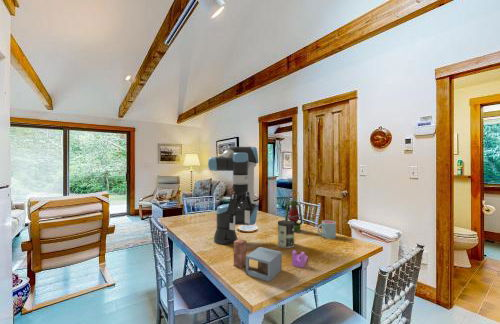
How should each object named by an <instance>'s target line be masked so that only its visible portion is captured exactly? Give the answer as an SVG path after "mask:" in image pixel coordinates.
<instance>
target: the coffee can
mask: <svg viewBox="0 0 500 324" xmlns="http://www.w3.org/2000/svg"><path fill="white" fill-rule="evenodd" d="M294 224H295V223H294V222H293V221H290V220H289V219H288V220H285V219H283V220H278V221H277V245H278V247H280V248H285V249H289V248H293V247H295V233H294Z"/></svg>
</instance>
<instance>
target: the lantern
mask: <svg viewBox="0 0 500 324" xmlns="http://www.w3.org/2000/svg"><path fill="white" fill-rule="evenodd" d="M291 192H294V193H297V194H298V195H300V193H299V192H298V191H297V190H290V191H289V192H288V194H287V195H288V196H287V198H288V199H287V202H286V205H287V206H286V210H285V216H284V217H285V218H284V220H288V221H293V222H294V223H295V224H294V234H296V233H300V232H302V229H301V225H303V223H304V222H303V221H304V220H303V214H302V207H301V205H302V203H301V201H300V197H298V199H296V198H295V197H292V198H291V199H289V197H290V193H291ZM289 200H290V202H289ZM298 202H299V203H298ZM297 206H298V207H297ZM298 221H300V222H298Z"/></svg>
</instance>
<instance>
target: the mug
mask: <svg viewBox="0 0 500 324" xmlns="http://www.w3.org/2000/svg"><path fill="white" fill-rule="evenodd" d="M320 228H321V232H320ZM317 233H318V234H319V235H320V236H321V237H322V238H324V239H329V240H331V239H333V240H334V239H336V236H337V235H336V233H337V222H336V221H334V220H328V219H326V220H325V219H324V220H321V223H320V224H319V225H318V226H317Z"/></svg>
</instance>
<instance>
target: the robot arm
mask: <svg viewBox="0 0 500 324" xmlns="http://www.w3.org/2000/svg"><path fill="white" fill-rule="evenodd" d="M258 153H259V152H258V148H257V147H256V146H252V145H251V146H232V147H229V148H226V149H225V150H223V151H222V153H221V154H220V155H218V156H210V157H209V158H208V160H207V161H208V162H207V164H208V165H207V167H208V170H210V171H215V172H217V171H218V172H221V171H222V172H224V171H225V172H232V191H233V192H234V194H230V200H229V202H228V203H226V204H225V203H224V204H221V205H218V206H217V208H216V230H215V233H214V236H213V242H214V243H216V244H219V245H231V244H234V241H236V240H238V236H237V232H236V226H238V225H239V226H240V225H241V226H255V224H256V222H257V217H258V210H259V208H258V206H257V205H256V203H255V201H254V196H255V195H254V194H255V193H254V191H255V190H254V189H255V188H254V187H255V167H256V166H257V164H259V155H258Z"/></svg>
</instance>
